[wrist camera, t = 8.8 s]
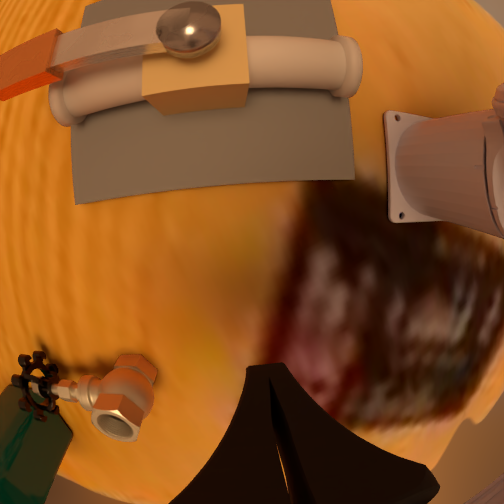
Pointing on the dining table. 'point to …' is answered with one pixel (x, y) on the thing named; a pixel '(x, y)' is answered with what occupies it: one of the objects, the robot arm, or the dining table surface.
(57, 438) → the pitcher
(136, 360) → the valve
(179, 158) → the pipe board
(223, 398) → the dining table surface
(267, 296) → the dining table surface
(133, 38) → the valve lever
